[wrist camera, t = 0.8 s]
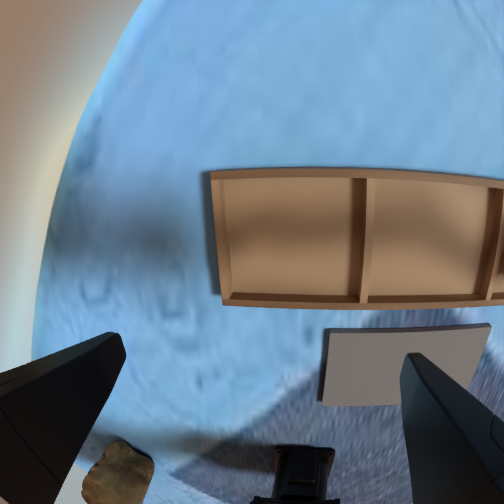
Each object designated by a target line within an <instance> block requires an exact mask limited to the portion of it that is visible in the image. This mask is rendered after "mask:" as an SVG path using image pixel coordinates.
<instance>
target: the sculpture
mask: <svg viewBox="0 0 504 504" xmlns="http://www.w3.org/2000/svg"><path fill="white" fill-rule="evenodd" d="M154 468H155V467H154V462H153V460H152V459H150V458H148V457H146V456H143V455H141V454H139V453H137V452H136V451H135V450H134V449H132V448H131V447H130V446H129V445H128V444H126V443H125V442H123V441H113V442H111V444H110V446H107V447H106V449H105V452H104V453H103V454H102V458H101V460H100V461H98V462H97V463H95V464H94V465H93V467H91V469H90V470H89V472H88V474H87V476H85V478H84V480H83V483H82V488H83V490H82V492H81V493H82V497H83V498H84V500H85V501H86V502H87V504H142V502H143V499H144V497H145V494H146V492H147V489H148V487H149V484H150V482H151V479H152V476H153V473H154Z"/></svg>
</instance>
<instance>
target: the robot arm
mask: <svg viewBox="0 0 504 504" xmlns="http://www.w3.org/2000/svg"><path fill="white" fill-rule="evenodd" d="M125 360H126V351H125V348H124V345H123V342H122V338H121V336H120V335H119V334H118V333H114V332H106V333H104V334H101V335H99V336H96V337H94V338H91V339H89V340H86V341H84V342H81V343H79V344H76V345H73V346H71V347H68V348H66V349H63V350H61V351H58V352H56V353H53V354H50V355H48V356H45V357H43V358H40V359H37V360H35V361H32V362H30V363H27V364H26V365H22V366H19V367H16V368H13V369H11V370H8V371H5V372H2V373H0V504H54V502H55V500H56V498H57V496H58V494H59V492H60V489H61V487H62V484H63V483H64V481H65V479H66V477H67V475H68V473H69V471H70V469H71V467H72V465H73V463H74V461H75V459H76V457H77V455H78V453H79V451H80V449H81V447H82V446H83V444H84V442H85V440H86V438H87V436H88V434H89V432H90V430H91V429H92V427H93V425H94V423H95V421H96V419H97V418H98V416H99V414H100V412H101V410H102V408H103V407H104V405H105V403H106V401H107V399H108V398H109V396H110V394H111V392H112V389H113V387H114V385H115V383H116V380H117V378H118V376H119V373H120V371H121V369H122V366H123V364H124V362H125ZM400 392H401V406H402V421H403V429H404V435H405V441H406V448H407V454H408V461H409V469H410V476H411V485H412V494H413V504H504V421H502V420H501V419H500V418H499V417H498V416H497V415H495V414H494V415H493V412H492V411H491V410H489V409H488V408H487V407H486V406H485V405H483V404H482V403H481V402H480V401H479V400H478V399H476V398H475V397H474V396H473V395H472V394H470V393H469V392H468V391H467V390H466V389H464V388H463V387H462V386H461V385H459V384H458V383H457V382H456V381H455V380H453V379H452V378H451V377H450V376H449V375H447V374H446V373H445V372H444V371H442V370H441V369H440V368H439V367H438V366H436V365H435V364H434V363H433V362H431V361H430V360H429V359H428V358H426V357H425V356H424V355H423V354H421V353H420V352H413V353H407V354H406V356H405V359H404V362H403V366H402V369H401V373H400ZM334 457H335V450H334V449H312V448H291V447H275V450H274V474H275V475H276V476H275V481H274V486H273V491H272V495H271V498H262V497H260V496H255V497H254V499H253V501H251V502H250V504H340V499H334V500H326V493H327V480H328V477H329V474H330V470H331V467H332V464H333V460H334Z"/></svg>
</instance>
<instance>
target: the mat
mask: <svg viewBox="0 0 504 504" xmlns="http://www.w3.org/2000/svg"><path fill="white" fill-rule="evenodd" d="M491 328H492V326H491V325H490V324H489V323H483V324H471V325H457V326H441V327H420V328H385V329H330V335H329V345H328V355H327V365H326V374H325V382H324V390H323V398H322V406H376V405H395V404H401V392H400V373H401V369H402V366H403V362H404V359H405V356H406V354H407V353H413V352H420V353H421V354H423V355H424V356H425V357H426V358H428V359H429V360H430V361H431V362H433V363H434V364H435V365H436V366H438V367H439V368H440V369H441V370H442V371H444V372H445V373H446V374H447V375H449V376H450V377H451V378H452V379H453V380H455V381H456V382H457V383H458V384H459V385H461V386H462V387H463V388H464V389H466V390H467V388H468V386H469V383H470V381H471V379H472V377H473V374H474V372H475V370H476V367H477V365H478V363H479V360H480V358H481V355H482V353H483V350H484V347H485V345H486V342H487V339H488V336H489V333H490V331H491Z"/></svg>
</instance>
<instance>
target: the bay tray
mask: <svg viewBox="0 0 504 504" xmlns="http://www.w3.org/2000/svg"><path fill="white" fill-rule="evenodd" d="M210 176H211V189H212V201H213V213H214V225H215V236H216V246H217V257H218V267H219V277H220V286H221V296H222V305H226V306H243V307H264V308H289V309H328V310H402V309H439V308H462V307H480V306H496V305H504V180H500V179H493V178H486V177H478V176H469V175H460V174H451V173H440V172H429V171H416V170H400V169H381V168H353V167H276V168H247V169H227V170H216V171H213V172H210Z"/></svg>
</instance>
